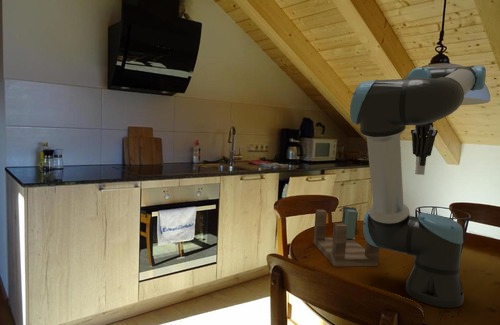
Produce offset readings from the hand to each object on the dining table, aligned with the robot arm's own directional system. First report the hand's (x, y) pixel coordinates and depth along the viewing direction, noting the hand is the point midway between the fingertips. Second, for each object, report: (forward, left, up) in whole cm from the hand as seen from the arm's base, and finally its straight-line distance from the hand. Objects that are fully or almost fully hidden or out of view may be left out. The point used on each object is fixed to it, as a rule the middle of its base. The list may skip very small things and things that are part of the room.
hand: (419, 174), depth 132 cm
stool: (+4, +26, -32) cm, 42 cm away
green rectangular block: (+14, +20, -29) cm, 38 cm away
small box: (+34, +11, -32) cm, 48 cm away
